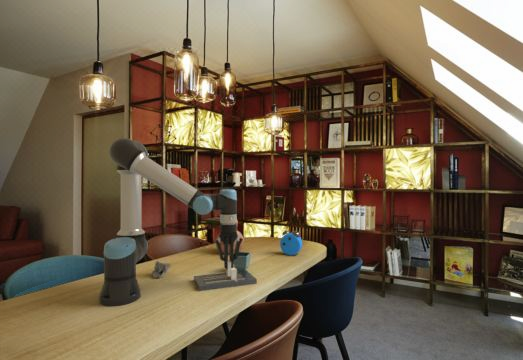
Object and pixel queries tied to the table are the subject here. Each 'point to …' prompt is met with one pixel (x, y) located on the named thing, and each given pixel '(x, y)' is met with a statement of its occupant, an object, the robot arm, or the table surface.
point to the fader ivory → (233, 273)
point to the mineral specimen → (160, 269)
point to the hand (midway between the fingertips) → (228, 275)
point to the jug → (234, 242)
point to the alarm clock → (291, 243)
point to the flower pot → (242, 261)
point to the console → (223, 280)
